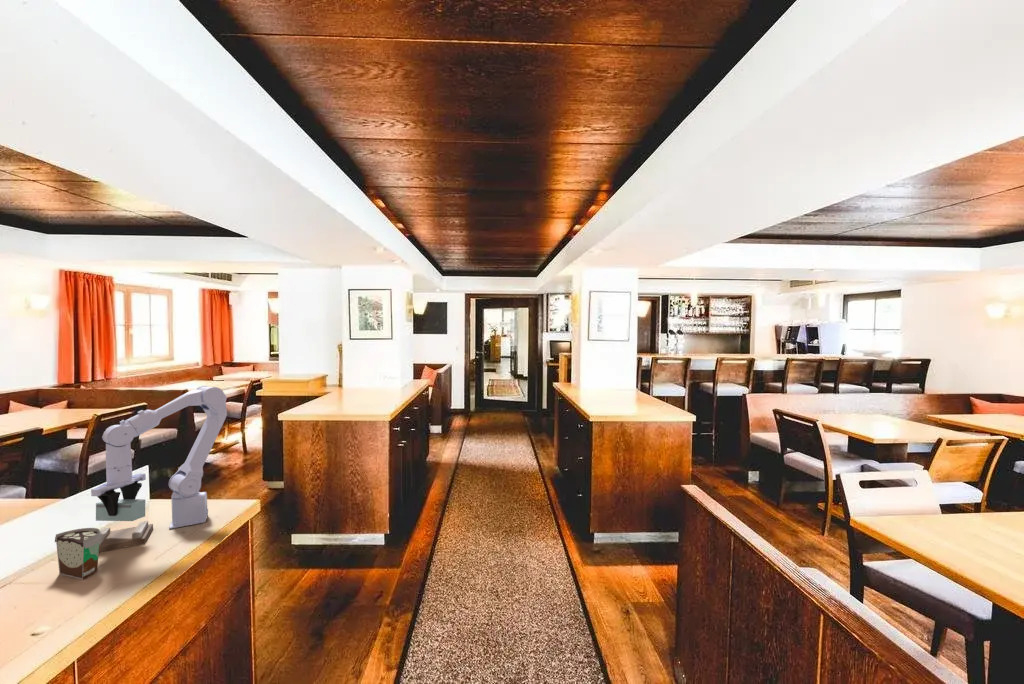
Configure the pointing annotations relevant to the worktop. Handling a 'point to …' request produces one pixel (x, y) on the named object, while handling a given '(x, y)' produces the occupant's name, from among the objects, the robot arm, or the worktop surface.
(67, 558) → the food container
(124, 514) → the glasses case
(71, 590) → the worktop surface
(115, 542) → the display stand
